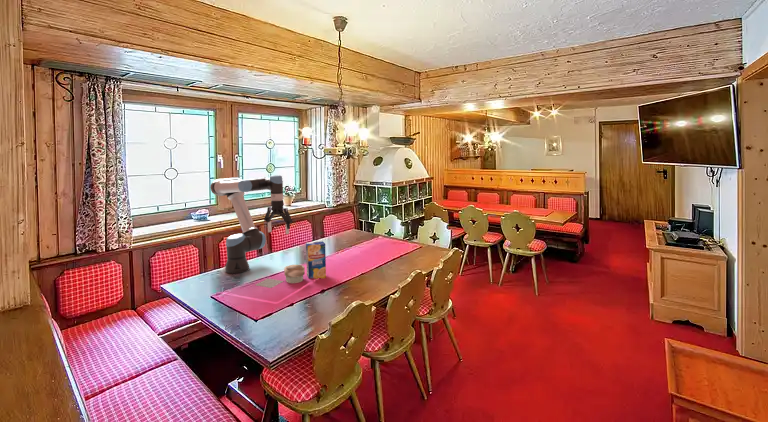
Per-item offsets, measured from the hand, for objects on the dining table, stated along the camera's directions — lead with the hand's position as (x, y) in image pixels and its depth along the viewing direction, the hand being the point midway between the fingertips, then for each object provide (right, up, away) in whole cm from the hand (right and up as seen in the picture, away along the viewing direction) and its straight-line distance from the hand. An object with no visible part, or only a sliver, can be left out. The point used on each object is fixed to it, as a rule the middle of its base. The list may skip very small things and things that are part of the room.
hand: (278, 232), depth 248 cm
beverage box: (+25, -28, -3) cm, 37 cm away
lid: (+13, -24, -12) cm, 30 cm away
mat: (-1, -30, -16) cm, 34 cm away
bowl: (+13, -29, -11) cm, 34 cm away
